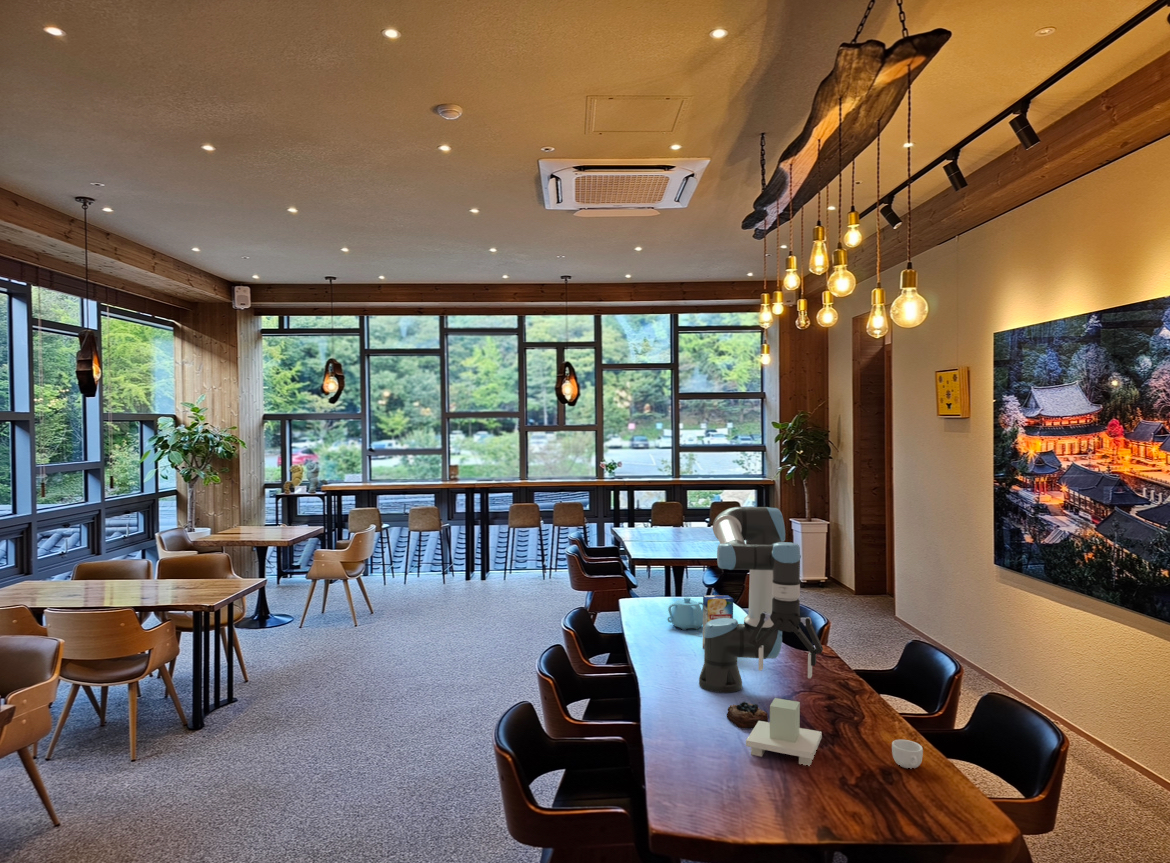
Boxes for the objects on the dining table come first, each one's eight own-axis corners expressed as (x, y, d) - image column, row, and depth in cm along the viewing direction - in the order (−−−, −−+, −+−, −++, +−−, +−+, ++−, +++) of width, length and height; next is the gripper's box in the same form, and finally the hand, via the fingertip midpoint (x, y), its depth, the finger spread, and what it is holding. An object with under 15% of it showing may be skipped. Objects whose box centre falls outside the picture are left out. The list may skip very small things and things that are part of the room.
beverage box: (702, 648, 310) (702, 595, 310) (727, 647, 311) (728, 595, 312) (707, 652, 303) (707, 599, 303) (732, 652, 305) (733, 598, 305)
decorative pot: (662, 627, 342) (663, 598, 342) (678, 620, 356) (679, 592, 356) (694, 633, 333) (695, 603, 333) (710, 626, 346) (710, 597, 346)
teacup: (887, 758, 205) (887, 739, 205) (915, 759, 204) (915, 739, 205) (901, 775, 195) (901, 754, 195) (931, 775, 194) (931, 755, 195)
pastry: (740, 731, 223) (740, 711, 223) (722, 716, 235) (722, 698, 235) (772, 727, 226) (773, 708, 226) (753, 713, 238) (753, 695, 238)
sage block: (774, 729, 213) (774, 698, 213) (799, 733, 210) (799, 702, 210) (769, 738, 207) (769, 705, 207) (795, 742, 204) (795, 710, 204)
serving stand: (758, 735, 219) (758, 720, 219) (821, 747, 211) (821, 731, 211) (745, 756, 205) (746, 740, 205) (812, 770, 197) (813, 753, 197)
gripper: (738, 595, 210) (738, 670, 210) (830, 605, 200) (829, 684, 200) (745, 590, 217) (744, 662, 217) (833, 600, 206) (832, 675, 206)
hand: (785, 673), depth 208 cm, fingers open, 13 cm apart
